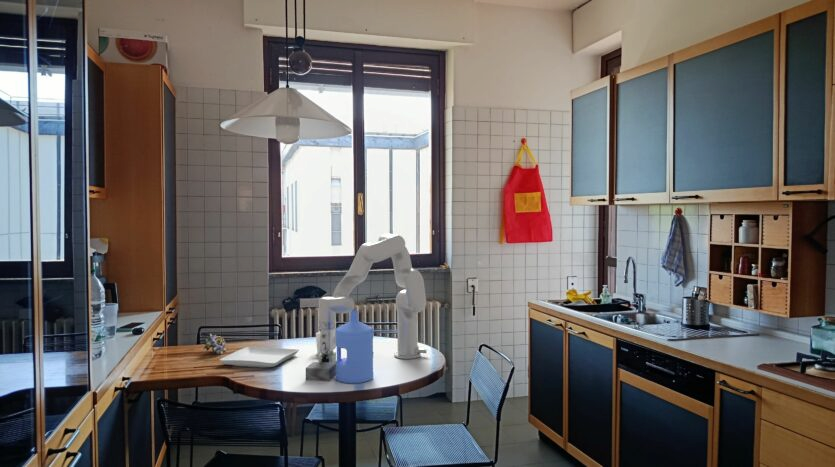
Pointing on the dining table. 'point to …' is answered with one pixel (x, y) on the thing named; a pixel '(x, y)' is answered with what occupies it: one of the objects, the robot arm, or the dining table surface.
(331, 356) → the sage cube
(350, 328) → the water jug
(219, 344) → the passion flower
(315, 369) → the block
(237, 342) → the dining table surface
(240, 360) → the square plate
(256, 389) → the dining table surface
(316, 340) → the white cup
